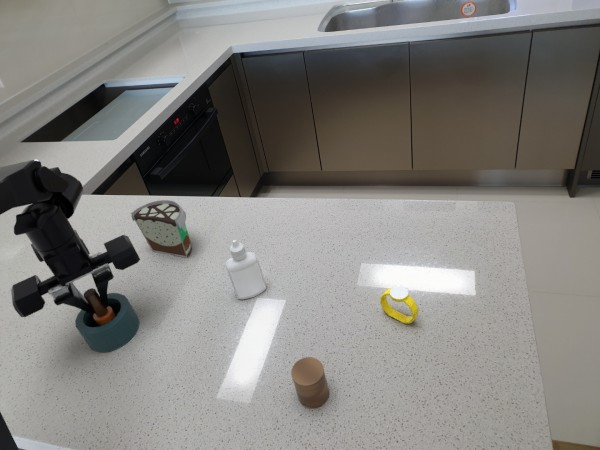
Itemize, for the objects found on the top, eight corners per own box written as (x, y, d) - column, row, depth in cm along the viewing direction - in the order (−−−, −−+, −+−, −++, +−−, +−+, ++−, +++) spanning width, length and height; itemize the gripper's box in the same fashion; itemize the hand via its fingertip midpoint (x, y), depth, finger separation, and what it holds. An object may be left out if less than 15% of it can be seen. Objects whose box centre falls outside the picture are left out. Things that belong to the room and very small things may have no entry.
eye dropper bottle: (263, 300, 81) (247, 249, 74) (233, 300, 82) (214, 250, 75) (268, 282, 84) (253, 232, 77) (239, 282, 86) (222, 233, 78)
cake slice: (209, 239, 98) (195, 201, 92) (193, 259, 94) (177, 220, 88) (164, 232, 103) (147, 195, 97) (147, 250, 99) (128, 212, 93)
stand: (312, 414, 62) (306, 391, 59) (291, 394, 65) (284, 372, 62) (335, 392, 64) (330, 369, 61) (314, 374, 67) (308, 351, 64)
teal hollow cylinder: (99, 361, 76) (86, 342, 73) (81, 333, 82) (68, 315, 79) (147, 328, 80) (136, 309, 77) (126, 304, 86) (115, 285, 83)
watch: (378, 315, 74) (375, 290, 70) (387, 304, 75) (385, 278, 72) (412, 331, 70) (411, 305, 67) (421, 319, 72) (420, 293, 68)
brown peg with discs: (120, 321, 80) (102, 291, 75) (103, 332, 78) (83, 302, 74) (113, 312, 82) (95, 282, 77) (96, 323, 80) (76, 293, 76)
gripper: (105, 191, 77) (140, 259, 87) (-13, 241, 71) (38, 308, 81) (120, 220, 69) (157, 292, 79) (-11, 279, 63) (46, 349, 72)
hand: (100, 309), depth 78 cm, fingers closed on brown peg with discs, 2 cm apart
